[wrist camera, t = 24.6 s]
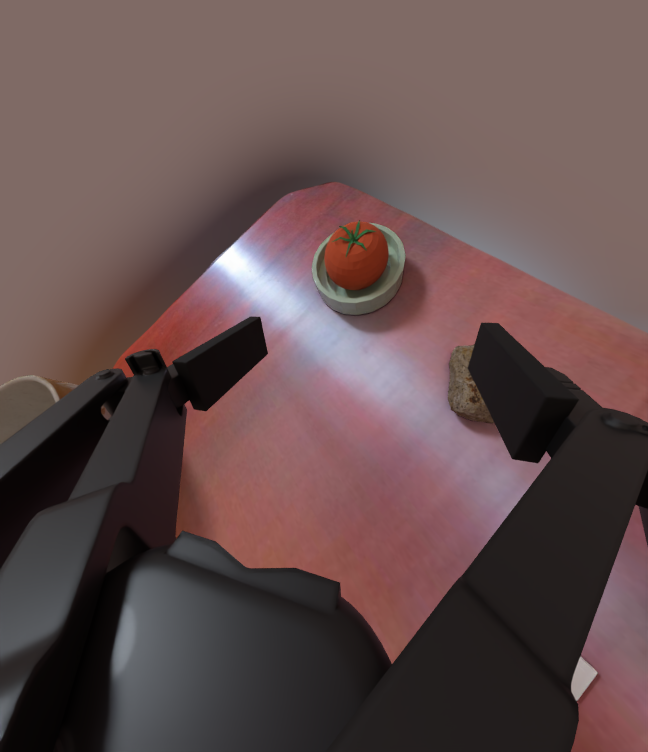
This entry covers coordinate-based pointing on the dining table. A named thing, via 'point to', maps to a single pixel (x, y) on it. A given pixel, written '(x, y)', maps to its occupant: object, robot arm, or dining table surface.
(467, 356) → the rock
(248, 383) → the dining table surface
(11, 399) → the planter
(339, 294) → the bowl
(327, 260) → the tomato
